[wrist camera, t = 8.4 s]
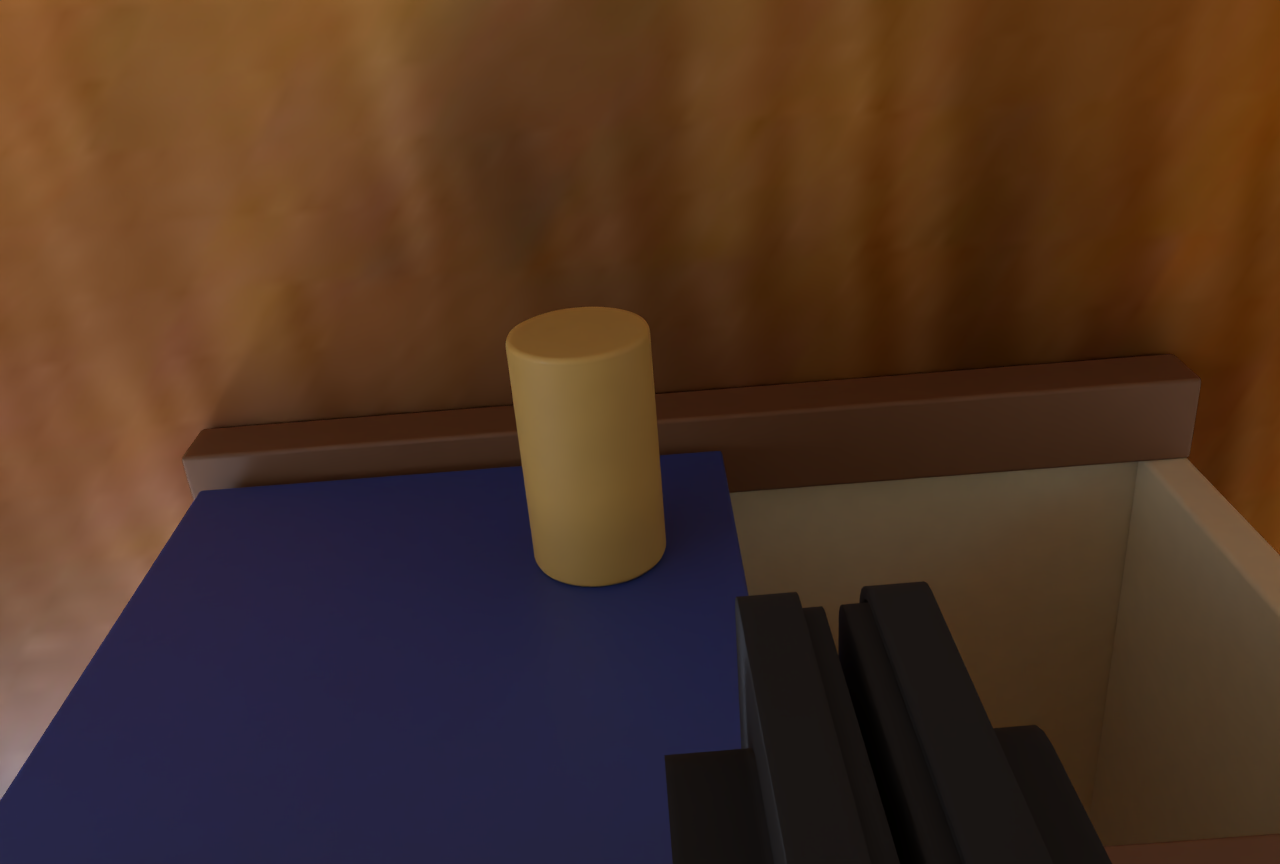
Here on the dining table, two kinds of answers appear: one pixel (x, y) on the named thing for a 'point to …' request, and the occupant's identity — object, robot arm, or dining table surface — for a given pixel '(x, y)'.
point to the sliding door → (418, 652)
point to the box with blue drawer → (970, 557)
